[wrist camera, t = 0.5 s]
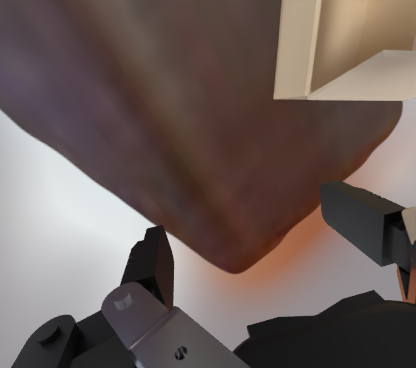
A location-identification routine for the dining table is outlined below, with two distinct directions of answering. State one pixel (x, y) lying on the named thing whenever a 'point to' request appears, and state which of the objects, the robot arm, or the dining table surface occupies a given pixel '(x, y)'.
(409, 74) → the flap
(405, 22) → the carton
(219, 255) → the dining table surface
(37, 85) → the dining table surface
